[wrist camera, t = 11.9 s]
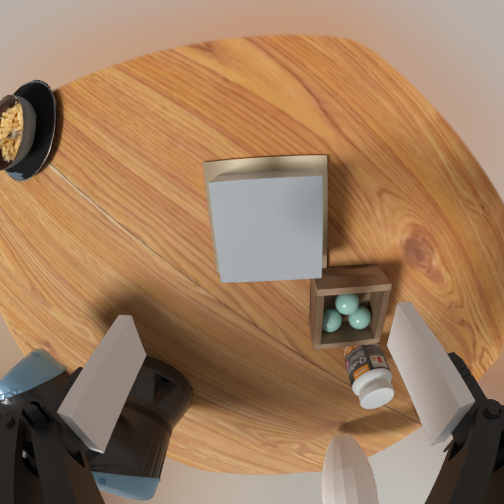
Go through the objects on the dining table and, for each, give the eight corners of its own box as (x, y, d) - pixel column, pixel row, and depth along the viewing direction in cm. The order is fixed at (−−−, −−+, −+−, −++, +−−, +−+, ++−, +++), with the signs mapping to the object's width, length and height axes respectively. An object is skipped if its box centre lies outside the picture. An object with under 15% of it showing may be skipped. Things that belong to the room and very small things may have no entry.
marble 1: (316, 322, 35) (318, 337, 33) (317, 304, 34) (319, 319, 31) (338, 321, 35) (341, 336, 32) (341, 303, 34) (344, 318, 31)
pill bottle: (350, 333, 37) (367, 385, 28) (383, 335, 37) (405, 384, 28) (337, 361, 39) (349, 412, 30) (370, 362, 39) (386, 410, 30)
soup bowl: (65, 169, 30) (28, 181, 23) (4, 186, 31) (-27, 199, 24) (62, 66, 24) (26, 60, 17) (-1, 102, 25) (-33, 104, 18)
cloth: (217, 271, 34) (216, 273, 33) (203, 162, 29) (202, 162, 28) (325, 265, 33) (326, 268, 32) (325, 155, 28) (326, 155, 27)
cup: (318, 418, 46) (327, 516, 26) (368, 411, 45) (389, 503, 25) (312, 441, 50) (318, 524, 30) (357, 435, 49) (371, 515, 29)
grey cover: (227, 261, 33) (221, 282, 28) (217, 175, 29) (208, 182, 24) (314, 257, 32) (321, 277, 27) (313, 169, 28) (322, 176, 23)
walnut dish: (308, 324, 36) (313, 349, 32) (310, 268, 33) (317, 289, 28) (368, 319, 36) (379, 342, 31) (377, 264, 32) (392, 283, 28)
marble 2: (332, 291, 34) (333, 315, 33) (337, 290, 31) (338, 316, 30) (354, 289, 34) (355, 313, 33) (361, 288, 31) (362, 313, 30)
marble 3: (344, 320, 35) (350, 335, 32) (347, 302, 34) (354, 317, 31) (364, 317, 35) (372, 332, 32) (368, 300, 34) (376, 314, 31)
